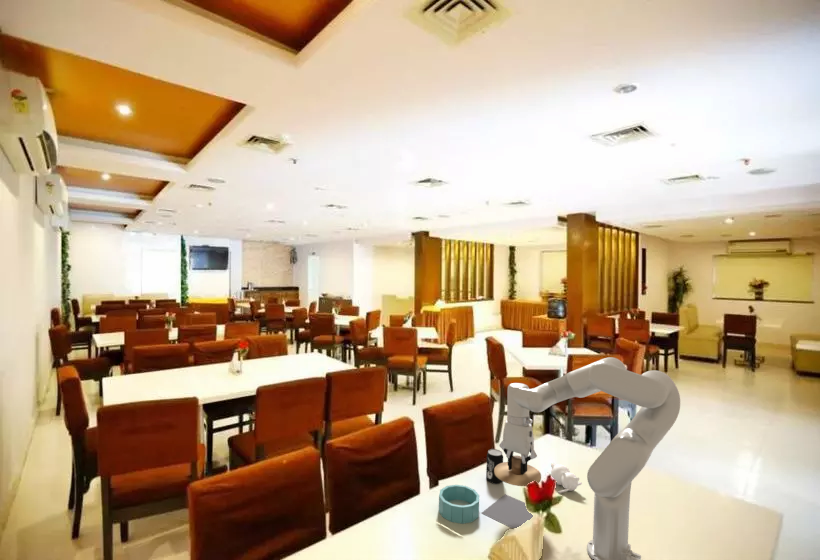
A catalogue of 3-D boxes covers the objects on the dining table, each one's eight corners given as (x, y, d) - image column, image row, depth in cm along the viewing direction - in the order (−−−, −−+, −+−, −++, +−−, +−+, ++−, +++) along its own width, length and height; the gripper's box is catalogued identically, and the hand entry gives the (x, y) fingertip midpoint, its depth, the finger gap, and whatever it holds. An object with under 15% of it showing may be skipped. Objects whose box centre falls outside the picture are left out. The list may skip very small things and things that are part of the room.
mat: (547, 514, 142) (547, 512, 142) (526, 536, 130) (526, 535, 130) (505, 495, 154) (505, 494, 154) (481, 514, 141) (481, 513, 141)
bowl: (486, 511, 143) (486, 495, 143) (463, 530, 132) (464, 512, 132) (454, 496, 152) (454, 480, 152) (431, 512, 142) (431, 495, 142)
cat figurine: (578, 470, 156) (557, 456, 167) (558, 488, 153) (538, 472, 164) (586, 487, 158) (565, 471, 169) (567, 505, 155) (546, 488, 166)
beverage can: (502, 486, 161) (503, 456, 160) (486, 484, 162) (486, 454, 162) (502, 478, 167) (503, 449, 167) (486, 475, 168) (487, 447, 168)
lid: (548, 473, 142) (548, 457, 142) (528, 491, 130) (528, 473, 130) (507, 459, 153) (508, 444, 153) (485, 474, 141) (485, 458, 141)
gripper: (545, 422, 138) (544, 475, 138) (502, 411, 150) (501, 459, 150) (535, 428, 133) (535, 483, 133) (491, 416, 144) (491, 466, 144)
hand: (517, 470), depth 141 cm, fingers closed on lid, 4 cm apart
